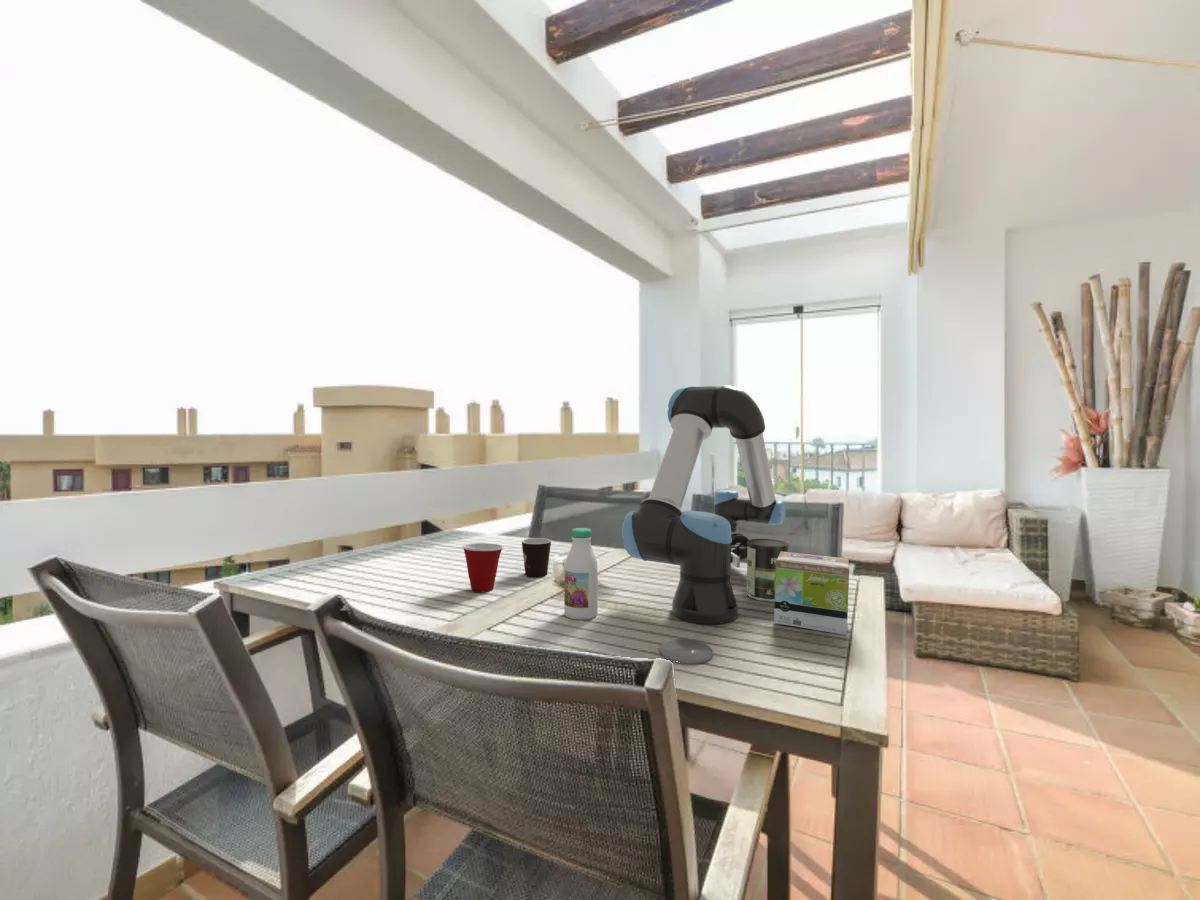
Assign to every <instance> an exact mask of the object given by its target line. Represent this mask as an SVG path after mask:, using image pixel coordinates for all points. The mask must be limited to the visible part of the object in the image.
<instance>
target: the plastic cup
mask: <svg viewBox="0 0 1200 900" xmlns="http://www.w3.org/2000/svg"><path fill="white" fill-rule="evenodd" d="M462 549H463V551H464V557H465V562H466V568H467V572H468V573H467V574H468V579H469V583H470V584H469V585H470V589H471V591H472V592H476V593H487V592H492V590H494V587H495V582H496V581H495V580H496V576H497V572H498V567H499V560H500V557H501V553H502V550H503V549H504V546H503V545H501V544H496V543H485V542H484V543H483V542H476V543H475V542H474V543H466V544H463V545H462Z"/></svg>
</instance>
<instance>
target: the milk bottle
mask: <svg viewBox="0 0 1200 900" xmlns="http://www.w3.org/2000/svg"><path fill="white" fill-rule="evenodd" d="M570 534H571V540H572V543H571V546H570V550H569V552H568V554H567V556H566V559H565V564H564V565H565V566H564V586H563V587H564V590H563V591H564V592H563V593H564V595H563V597H564V604H563V605H564V608H563V609H564V610H563V611H564V615H565V617H566V618H568V619H571V620H577V621H578V620H583V621H584V620H590V619H593V618H595V617H596V616H597V615H598V611H599V610H598V609H599V607H598V606H599V603H598V602H599V597H598V596H599V594H598V593H599V573H598V572H599V571H598V569H599V568H598V561H597V557H596V555H595V554H596V553H594V551H593V548H592V547H593V546H592V545H591V539H592V529H591V528H588V527H576V528H572V529H571V533H570Z"/></svg>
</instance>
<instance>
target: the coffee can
mask: <svg viewBox="0 0 1200 900" xmlns="http://www.w3.org/2000/svg"><path fill="white" fill-rule="evenodd" d="M747 544H748V549H747V557H746V560H747V561H746V594H747V595H748V596H749V597H748V596H747V595H746V596H747V597H748V598H750V597H751V598H750V599H752V598H753V599H752V600H757V601H759V602H760V601H762V602H767V603H768V602H769V603H770V602H771V603H774V597H775V572H776V560H777V558H778V556H779V554H780V552H781V551H782V552H789V547H790V545H789V543H788V542H786V541H783V540H778V539H772V538H751V539H749V540H748V541H747Z"/></svg>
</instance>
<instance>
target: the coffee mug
mask: <svg viewBox="0 0 1200 900" xmlns="http://www.w3.org/2000/svg"><path fill="white" fill-rule="evenodd" d="M551 545H552V539H549V538H545V537H544V538H543V537H534V538H533V537H531V538H525V539H522V540H521V546H522V557H523V566H524V574H525V576H526V577H527V578H534V579H535V578H537V579H538V578H544V577H546V576H548V573H549V571H548V570H549V562H550V553H551Z"/></svg>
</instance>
